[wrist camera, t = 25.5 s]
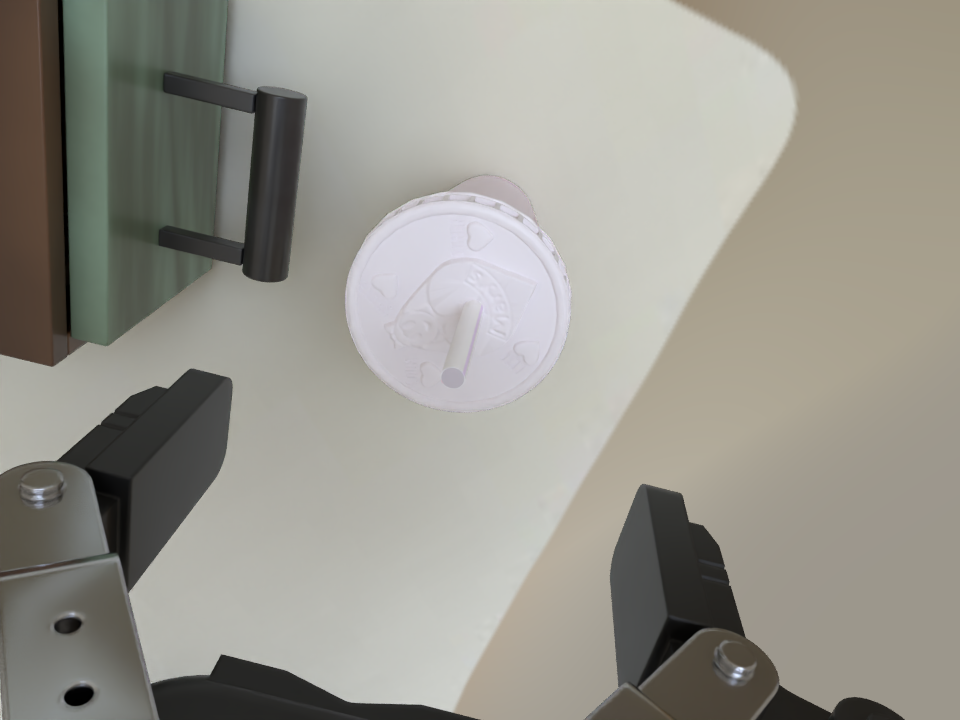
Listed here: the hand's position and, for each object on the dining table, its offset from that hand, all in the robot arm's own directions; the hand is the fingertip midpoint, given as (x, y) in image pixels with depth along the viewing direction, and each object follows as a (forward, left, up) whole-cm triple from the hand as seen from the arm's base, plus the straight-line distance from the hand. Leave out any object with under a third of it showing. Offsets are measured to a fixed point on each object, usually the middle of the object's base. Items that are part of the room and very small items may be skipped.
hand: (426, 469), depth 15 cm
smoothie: (0, 0, -17) cm, 17 cm away
